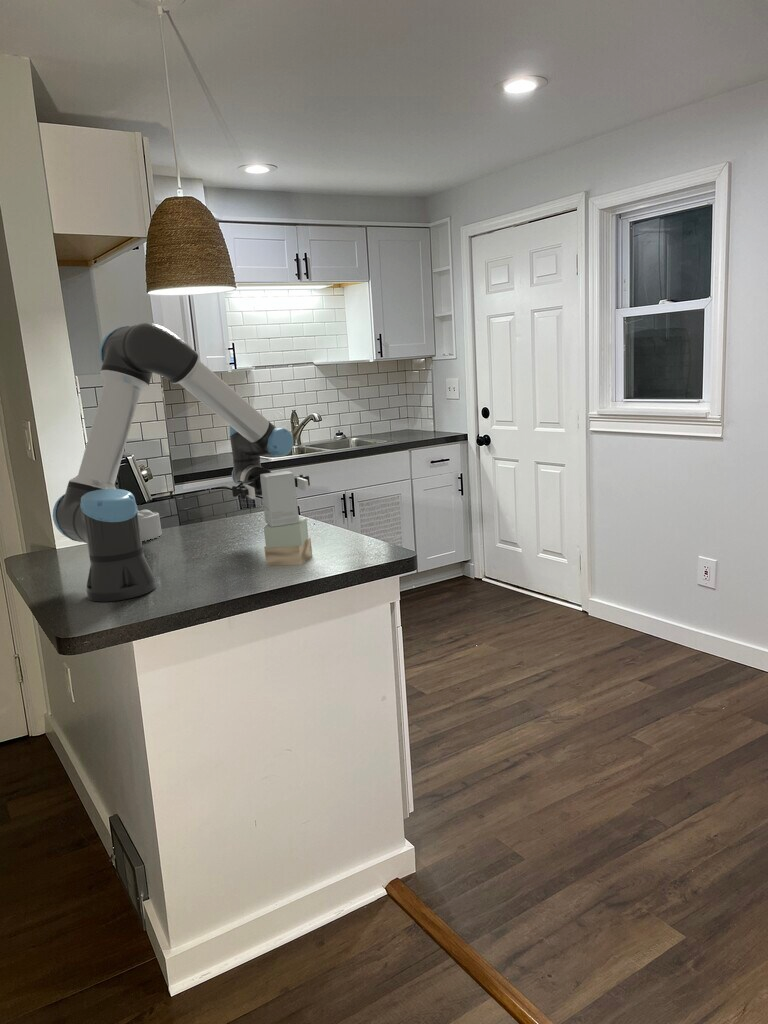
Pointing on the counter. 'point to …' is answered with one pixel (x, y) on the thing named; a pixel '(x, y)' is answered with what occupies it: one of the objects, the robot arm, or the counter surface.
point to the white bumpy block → (149, 524)
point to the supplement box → (279, 498)
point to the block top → (286, 534)
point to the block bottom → (288, 554)
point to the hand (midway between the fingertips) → (280, 489)
